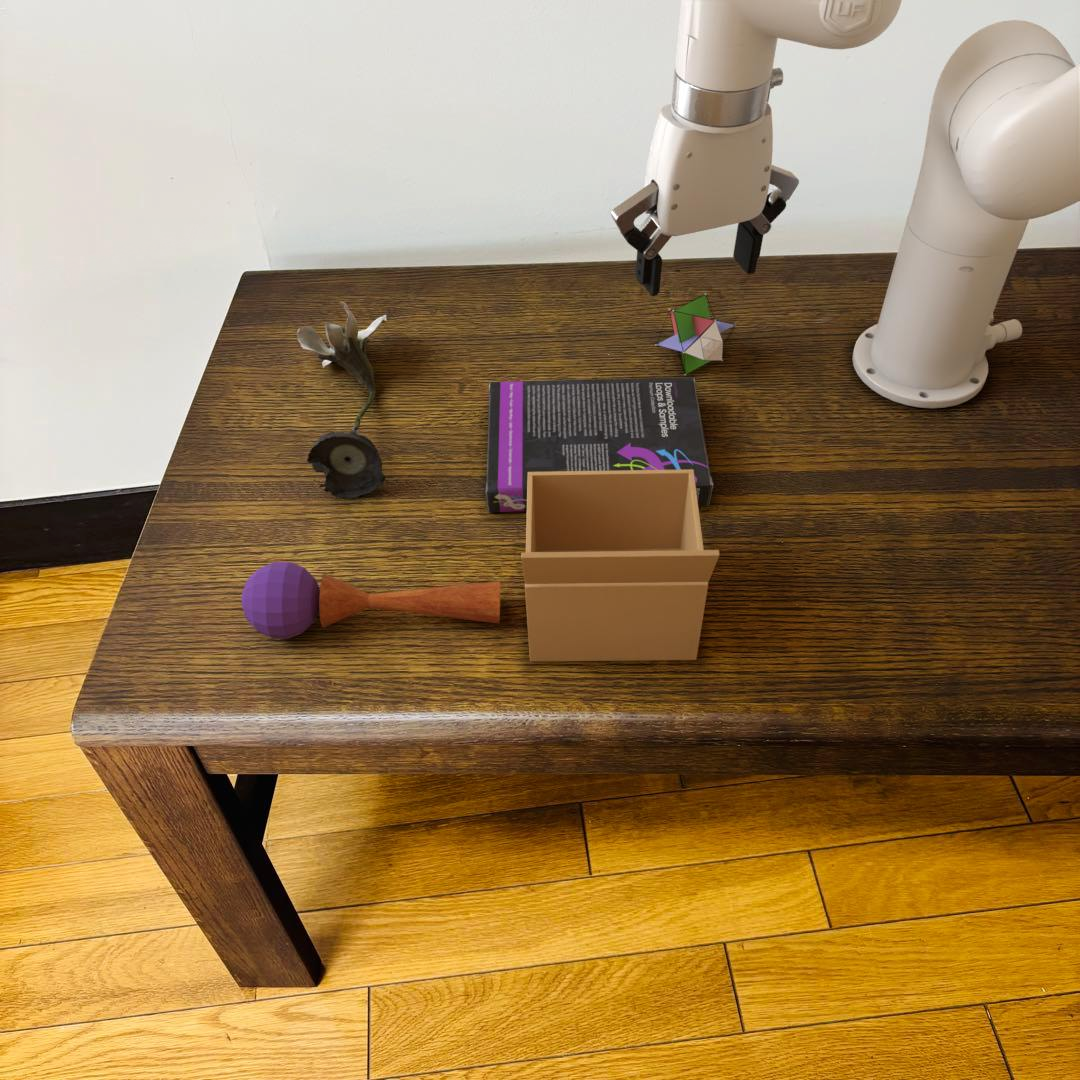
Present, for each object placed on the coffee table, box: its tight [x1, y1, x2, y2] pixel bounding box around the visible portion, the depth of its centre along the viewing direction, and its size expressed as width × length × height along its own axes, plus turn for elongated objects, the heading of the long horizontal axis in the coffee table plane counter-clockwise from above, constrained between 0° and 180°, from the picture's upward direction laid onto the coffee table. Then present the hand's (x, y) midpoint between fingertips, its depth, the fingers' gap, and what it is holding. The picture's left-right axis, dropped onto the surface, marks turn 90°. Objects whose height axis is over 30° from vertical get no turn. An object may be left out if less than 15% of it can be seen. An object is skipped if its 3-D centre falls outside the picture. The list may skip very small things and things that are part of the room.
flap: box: [520, 549, 720, 585], centre depth 67 cm, size 13×6×1 cm
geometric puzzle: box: [654, 293, 737, 376], centre depth 97 cm, size 7×7×8 cm
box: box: [484, 376, 714, 513], centre depth 90 cm, size 14×4×20 cm
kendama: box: [240, 561, 501, 639], centre depth 78 cm, size 6×6×20 cm
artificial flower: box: [291, 301, 387, 500], centre depth 94 cm, size 9×22×10 cm, turn 1°
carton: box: [524, 469, 709, 662], centre depth 77 cm, size 13×11×9 cm
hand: (696, 276), depth 92 cm, fingers open, 9 cm apart
